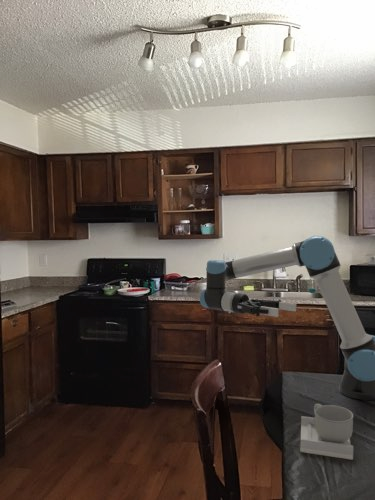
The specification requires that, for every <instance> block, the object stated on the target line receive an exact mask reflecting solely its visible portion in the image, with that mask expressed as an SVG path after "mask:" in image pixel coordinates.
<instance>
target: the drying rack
mask: <svg viewBox="0 0 375 500" xmlns="http://www.w3.org/2000/svg"><path fill="white" fill-rule="evenodd" d="M300 421H301V422H300V426H301V427H300V447H299V451H300V453H307V454H311V455H312V454H313V455H318V456H325V457H333V458H338V459H339V458H340V459H346V460H354V445H352V444H351V437H350V438H349V439H348V440H346V441H345V442H343V443H332V442H327V441H325V440H324V439H323V438H322V437H320V436H319V435H318V433H317V431H316V428H315V417H313V416H312V417H311V416H302V415H301V418H300Z"/></svg>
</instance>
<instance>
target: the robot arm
mask: <svg viewBox="0 0 375 500" xmlns="http://www.w3.org/2000/svg"><path fill="white" fill-rule="evenodd" d="M294 266H298V267H300V268H302V267H305V269H306V270H307V273H308V275H309V278H311V279H313V280H315V281H316V283H317V286H318V288H319V291H320V292H321V295H322V297H323V300H324V302H325V305H326V307H327V309H328V311H329V314H330V316H331V318H332V321H333V323H334V325H335V328H336V331H337V332H338V334H339V336H340V339H341V342H340V345H339V348H340V350H341V352H342V354H343V357H344V368H343V369H344V371H343V374H342V377H341V380H340V382H339V384H338V392H339V393H340V394H342V395H344V396H346V397H348V398H352V399H356V400H360V401H361V400H362V401H374V400H375V335H373V334H369V333H367V332H366V331H365V327H364V326H363V324H362V321H361V319H360V317H359V315H358V312H357V310H356V308H355V306H354V303H353V301H352V298H351V297H350V294H349V292H348V290H347V287H346V285H345V283H344V280H343V278H342V276H341V274H340V269H341V266H342V265H341V263H340V260H339V259H338V255H337V253H336V250H335V247H334V245H333V243H332V242H331V241H330V240H329V239H328V238H326V237H325V236H322V235H313V236H310V237H308V238H306V239H305V240H302V241H300V242H296V243H293V244H292V246H290V247H285V248H280V249H277V250H271V251H268V252H264V253H259V254H256V255H252V256H248V257H243V258H238V259H233V260H231V261H224V260H220V259H219V260H217V259H211V260H208V261H207V262H206V267H205V268H206V269H205V270H206V277H205V278H206V279H205V280H206V282H205V283H206V286H205V289H203V290H202V291H201V292H200V296H199V303H200V305H201V307H203V308H205V309H210V310H216V311H223V312H227V313H228V314H231V313H235V314H241V315H244V314H246V313H247V314H250V315H253V316H254V315H255V316H256V317H260V316H261V315H263V316H270V317H275V318H278V317H279V310H280V311H281V310H283V311H289V312H297V303H292V302H284V301H282V300H281V299H278V300H271V299H257V298H256V299H255V298H251V299H250V298H249V295H247V294H246V293H239V292H238V293H237V292H232V291H226V281H229V280H235V279H238V278H242V277H243V278H244V277H247V276H252V275H256V274H261V273H262V274H263V273H266V272H270V271H275V270H280V269H285V268H289V267H294Z"/></svg>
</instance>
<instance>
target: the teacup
mask: <svg viewBox="0 0 375 500" xmlns="http://www.w3.org/2000/svg"><path fill="white" fill-rule="evenodd" d="M313 412H314V418H315V428H316V431H317V433H318V435H319V436H320V437H322V438H323V439H324V440H325V441H327V442H332V443H343V442H345V441H346V440H348V439H349V438H350V439H351V437H352V435H353V431H354V429H353V428H354V427H353V426H354V413H353V412H352V410H350V409H348V408H346V407H343V406H341V405H334V404H324V405H322V404H321V403H315V404H314V406H313Z"/></svg>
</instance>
